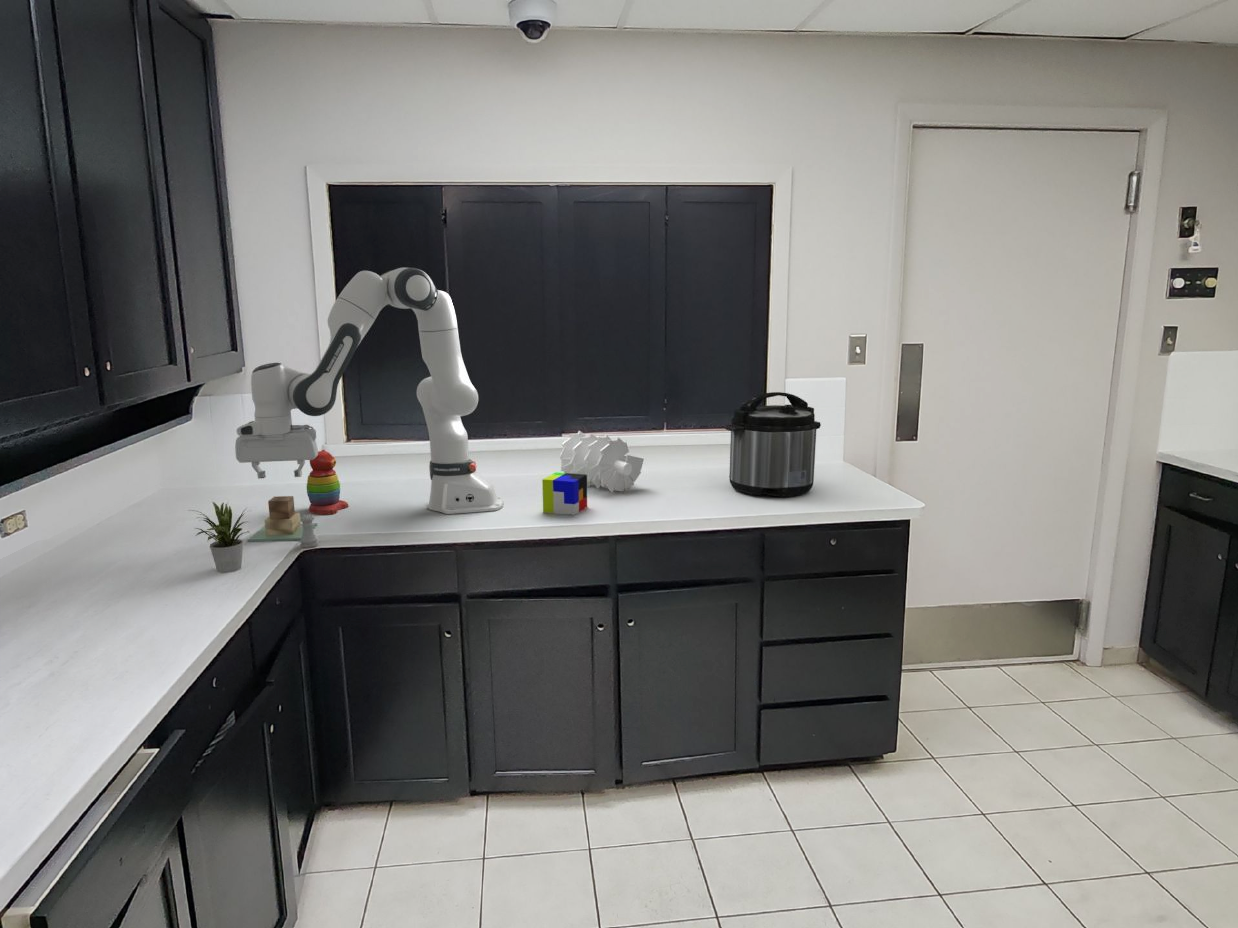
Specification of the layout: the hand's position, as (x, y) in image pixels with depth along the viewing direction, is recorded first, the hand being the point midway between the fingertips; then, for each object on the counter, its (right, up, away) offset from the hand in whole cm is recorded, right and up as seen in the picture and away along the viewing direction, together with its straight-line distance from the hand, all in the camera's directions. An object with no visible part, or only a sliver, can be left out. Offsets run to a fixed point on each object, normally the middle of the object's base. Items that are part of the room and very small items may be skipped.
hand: (280, 477), depth 217 cm
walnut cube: (0, -11, +2) cm, 11 cm away
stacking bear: (+3, -10, +27) cm, 29 cm away
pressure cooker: (+139, -5, +50) cm, 148 cm away
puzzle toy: (+74, -10, +26) cm, 79 cm away
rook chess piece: (+11, -18, -8) cm, 22 cm away
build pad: (0, -15, +3) cm, 15 cm away
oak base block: (0, -15, +3) cm, 15 cm away
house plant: (-3, -21, -25) cm, 33 cm away
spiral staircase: (+84, -4, +53) cm, 99 cm away
